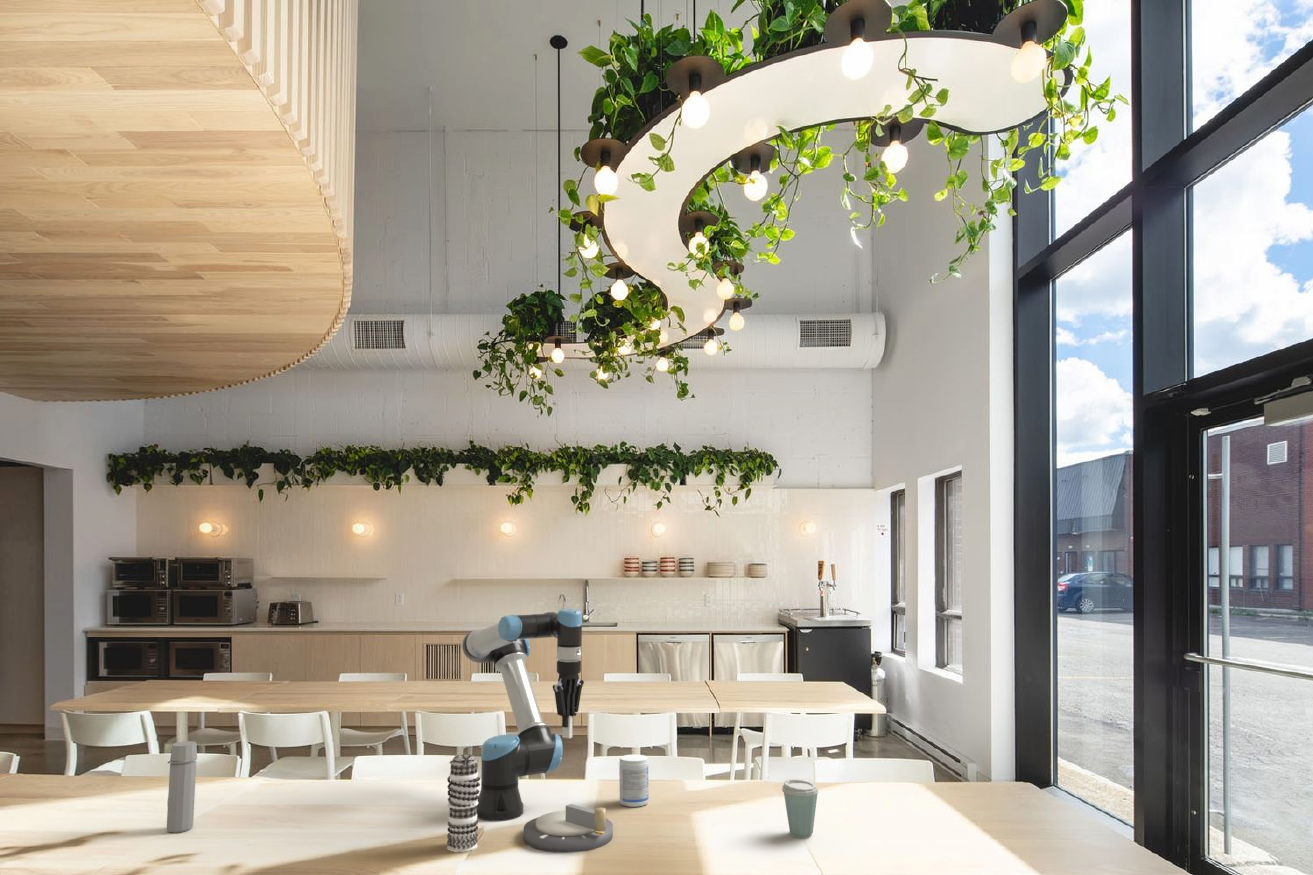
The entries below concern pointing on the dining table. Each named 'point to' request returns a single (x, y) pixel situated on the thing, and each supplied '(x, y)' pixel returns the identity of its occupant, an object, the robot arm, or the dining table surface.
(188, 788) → the water bottle
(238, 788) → the dining table surface
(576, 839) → the dial base
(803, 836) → the disposable coffee cup
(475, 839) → the decorative candle
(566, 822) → the dial
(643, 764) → the supplement tub
